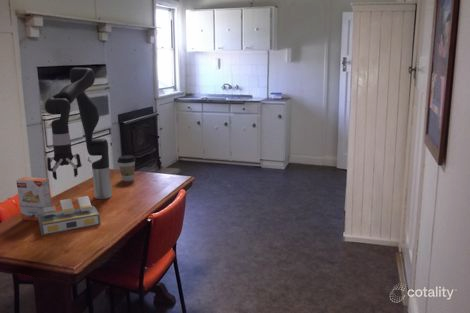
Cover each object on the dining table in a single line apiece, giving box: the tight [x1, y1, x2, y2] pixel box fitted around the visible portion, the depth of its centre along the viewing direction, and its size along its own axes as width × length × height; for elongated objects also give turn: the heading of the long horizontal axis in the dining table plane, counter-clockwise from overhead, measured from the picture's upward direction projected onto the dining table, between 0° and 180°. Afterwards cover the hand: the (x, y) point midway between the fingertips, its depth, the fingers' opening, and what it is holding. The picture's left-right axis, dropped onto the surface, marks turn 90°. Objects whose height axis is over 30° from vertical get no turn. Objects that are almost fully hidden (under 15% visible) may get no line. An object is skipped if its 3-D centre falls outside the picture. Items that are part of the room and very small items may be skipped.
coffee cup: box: [117, 154, 136, 182], centre depth 288 cm, size 11×11×15 cm
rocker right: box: [77, 195, 93, 212], centre depth 220 cm, size 9×5×2 cm, turn 28°
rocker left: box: [43, 205, 57, 213], centre depth 213 cm, size 9×5×2 cm, turn 27°
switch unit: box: [38, 205, 101, 236], centre depth 216 cm, size 14×26×6 cm, turn 117°
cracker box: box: [16, 176, 54, 222], centre depth 223 cm, size 14×6×21 cm, turn 78°
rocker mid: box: [59, 198, 75, 215], centre depth 217 cm, size 9×5×2 cm, turn 28°
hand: (65, 177), depth 208 cm, fingers open, 8 cm apart
